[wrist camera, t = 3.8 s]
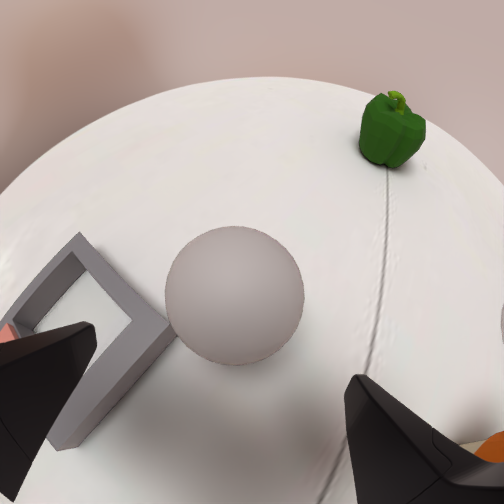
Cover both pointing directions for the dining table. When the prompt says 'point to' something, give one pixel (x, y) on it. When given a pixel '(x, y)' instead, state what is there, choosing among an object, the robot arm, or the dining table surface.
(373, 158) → the bell pepper
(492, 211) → the dining table surface
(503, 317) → the french press
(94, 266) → the socket
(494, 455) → the reusable coffee cup
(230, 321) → the lightbulb
